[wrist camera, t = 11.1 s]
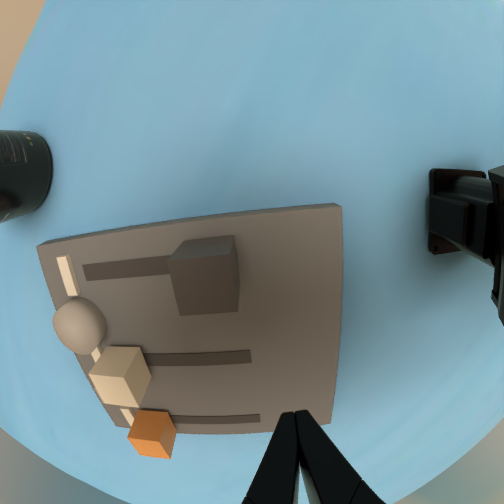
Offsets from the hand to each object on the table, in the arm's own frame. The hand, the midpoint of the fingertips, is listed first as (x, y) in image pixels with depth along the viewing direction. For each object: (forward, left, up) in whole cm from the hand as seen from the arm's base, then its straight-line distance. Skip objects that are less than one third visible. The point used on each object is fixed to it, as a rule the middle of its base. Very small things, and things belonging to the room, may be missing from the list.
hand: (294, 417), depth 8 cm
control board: (+6, +5, -12) cm, 14 cm away
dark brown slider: (+3, -2, -10) cm, 11 cm away
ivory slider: (+11, +5, -10) cm, 16 cm away
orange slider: (+11, +13, -10) cm, 20 cm away
